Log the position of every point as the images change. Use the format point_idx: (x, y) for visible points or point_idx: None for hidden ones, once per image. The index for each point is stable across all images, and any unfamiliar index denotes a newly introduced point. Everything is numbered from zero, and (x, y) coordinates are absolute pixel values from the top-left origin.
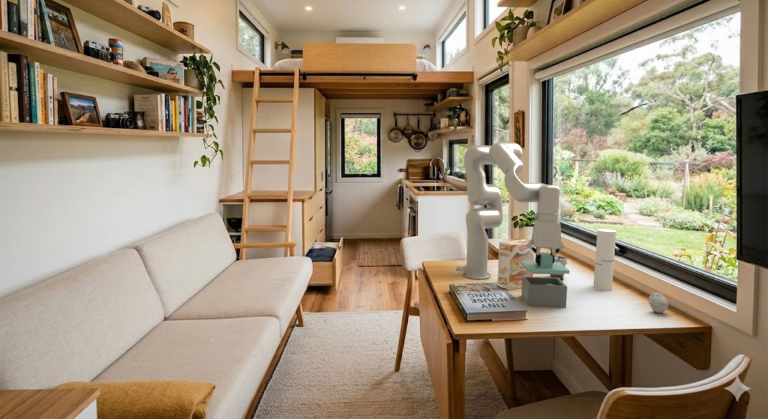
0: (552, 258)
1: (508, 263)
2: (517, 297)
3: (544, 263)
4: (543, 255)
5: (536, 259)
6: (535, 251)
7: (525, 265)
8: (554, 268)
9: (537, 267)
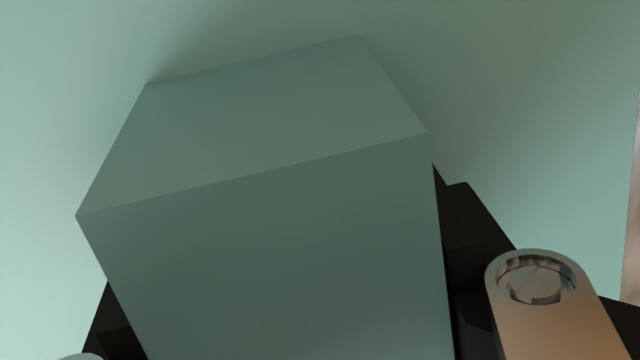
0: (101, 178)
1: None
2: None
3: (305, 74)
4: (372, 203)
5: (482, 208)
6: (623, 337)
7: (630, 84)
8: (93, 62)
9: (430, 7)
